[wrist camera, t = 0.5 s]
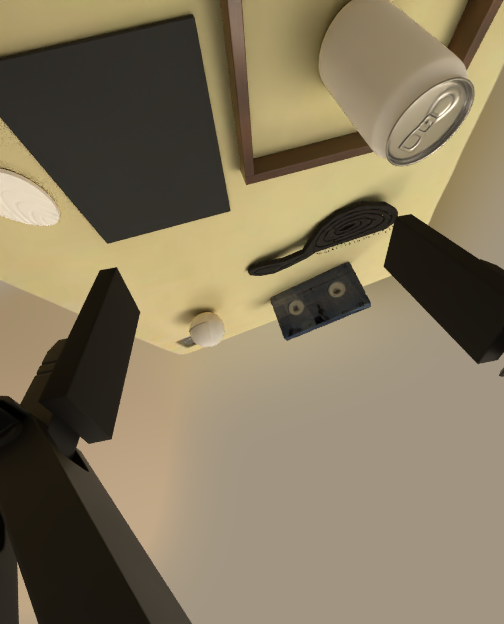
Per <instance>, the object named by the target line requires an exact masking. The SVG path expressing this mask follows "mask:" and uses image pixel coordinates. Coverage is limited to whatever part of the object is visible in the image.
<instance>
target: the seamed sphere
mask: <svg viewBox="0 0 504 624" xmlns="http://www.w3.org/2000/svg"><path fill="white" fill-rule="evenodd" d="M189 332H190V335H191V337H192V340H193V341H194V342H195V343H196V344H198V345H200V346H202V347H212V346H214V345H216V344H218V343H219V342H220V341H221V339H222V338H223V336H224V333H225V327H224V323H223V321H222V319H221V318H220V317H219V316H218V315H216V314H214V313H211V312H204V313H201V314H198V315H197V316H196V317H195V318H194V319H193V320H192V322H191V325H190V331H189ZM190 339H191V338H190ZM187 341H188V340H187Z"/></svg>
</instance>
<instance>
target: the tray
mask: <svg viewBox="0 0 504 624" xmlns="http://www.w3.org/2000/svg"><path fill="white" fill-rule="evenodd" d="M502 2H503V0H469V2H468V4H467V6H466V8H465V11H464V13H463V15H462V17H461V20H460V22H459V24H458V26H457V29H456V31H455V33H454V35H453V38H452V40H451V42H450V44H449V47H448V49H449V50H450V51H451V52H453V53H454V54H455V55H456V56H457V57H458V58H459V59H460V60H461V61H462V62H463V64H464V65H465V67H466V71H467V69H468V67H469V65H470V63H471V61H472V59H473V57H474V55H475V53H476V52H477V50H478V48H479V46H480V44H481V42H482V40H483V38H484V36H485V34H486V32H487V30H488V29H489V27H490V25H491V23H492V21H493V19H494V17H495V15H496V13H497V11H498V9H499V8H500V6H501V4H502ZM220 5H221V14H222V22H223V30H224V38H225V47H226V55H227V63H228V71H229V80H230V88H231V96H232V104H233V112H234V121H235V129H236V137H237V145H238V154H239V162H240V170H241V173H242V175H243V178H244V181H245V183H246V185H248V184H252V183H256V182H260V181H264V180H267V179H271V178H275V177H279V176H283V175H287V174H290V173H294V172H298V171H302V170H306V169H310V168H313V167H317V166H321V165H325V164H329V163H332V162H336V161H340V160H344V159H348V158H352V157H355V156H359V155H363V154H367V153H371V152H373V150H372V149H371V148H370V147H369V145H368V144H367V143H366V141H365V140H364V139H363V137H362V136H361V135H360V133H359V132H357V133H353V134H349V135H345V136H341V137H337V138H333V139H329V140H326V141H322V142H318V143H314V144H310V145H306V146H302V147H298V148H294V149H290V150H287V151H283V152H279V153H275V154H271V155H267V156H263V157H259V158H255V159H253V150H252V137H251V123H250V109H249V95H248V81H247V67H246V53H245V39H244V25H243V11H242V0H220Z"/></svg>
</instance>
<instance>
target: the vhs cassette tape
mask: <svg viewBox="0 0 504 624" xmlns="http://www.w3.org/2000/svg"><path fill="white" fill-rule="evenodd" d="M270 300H271V304H272V306H273V309H274V311H275V314H276V317H277V320H278V322H279V326H280V328H281V330H282V334H283V336H284V338H285V339H286V340H287V341H288V340H290V339H292V338H295V337H298V336H300V335H303V334H305V333H308V332H310V331H312V330H314V329H317V328H319V327H322V326H325V325H327V324H330V323H332V322H334V321H337V320H340V319H342V318H344V317H346V316H348V315H351V314H353V313H356V312H359V311H361V310H364V309H366V308H369V307H371V303H370V300H369V298H368V297H367V295H366V294H365V291H364V289H363V287H362V284H360V281H359V279H358V277H357V276H356V273H355V272H354V270H353V268H352V266H351V264H350V263H349V262H347V263H344V264H342V265H340V266H338V267H336V268H334V269H332V270H329V271H327V272H325V273H323V274H321V275H319V276H317V277H315V278H312V279H310V280H308V281H306V282H304V283H301V284H299V285H297V286H295V287H293V288H291V289H289V290H286V291H284V292H282V293H280V294H278V295H276V296H274V297H272V298H271V299H270Z"/></svg>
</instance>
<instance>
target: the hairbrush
mask: <svg viewBox="0 0 504 624" xmlns="http://www.w3.org/2000/svg"><path fill="white" fill-rule="evenodd" d="M382 215H383V216H382ZM396 217H398V212H397V210H396V209H395V208H394V207H393V206H391V205H390V204H388V203H386V202H372V201H362V202H359V203H356V204H354V205H351V206H348V207H346V208H343V209H340V210H338V211H335V212H334V213H333V214H332V215H330V216H329V217H328V218H327V219H326V220H324V221H323V222H322V223H321V224H320V225H319V226H318V228H317V229H316V230H315V232H314V233H313V234H312V236H311V237H310V239H309V240H308V242H307V243H306V245H305V246H304V248H303V249H302V250H300V251H297V252H295V253H293V254H290V255H288V256H286V257H283V258H279V259H274V260H269V261H265V262H261V263H258V264H255V265H252V266H251V267H249V268H248V269H247V270H248V273H249V274H250V275H254V276H262V275H268V274H274V273H276V272H278V271H281V270H283V269H285V268H288V267H290V266H292V265H294V264H296V263H298V262H300V261H302V260H304V259H306V258H308V257H309V256H311V255H312V254H314V253H315V252H318V251H321V250H324V249H326V248H329V247H331V248H332V246H333V247H334V246H335V245H337V246H338V244H342V243H344V244H345V242H348V241H352V240H354V239H357V238H360V237H363V236H365V237H366V235H369V234H372V233H375V232H378V231H381V230H382V231H383V230H384V229H387V228H389V226H390V225H391V226H392V227H393V225H392V224H393V223H394V222H395V218H396ZM389 229H390V228H389ZM385 233H386V232H385ZM378 234H379V233H378ZM373 235H374V234H373ZM368 237H369V236H368ZM366 238H367V237H366ZM359 241H360V240H359ZM354 243H355V242H354ZM349 245H350V244H349ZM345 246H346V245H345ZM329 249H330V248H329ZM336 249H337V248H336ZM332 250H334V249H332ZM328 252H329V251H328ZM324 253H325V252H324ZM317 254H318V253H317ZM319 254H320V253H319Z"/></svg>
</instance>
